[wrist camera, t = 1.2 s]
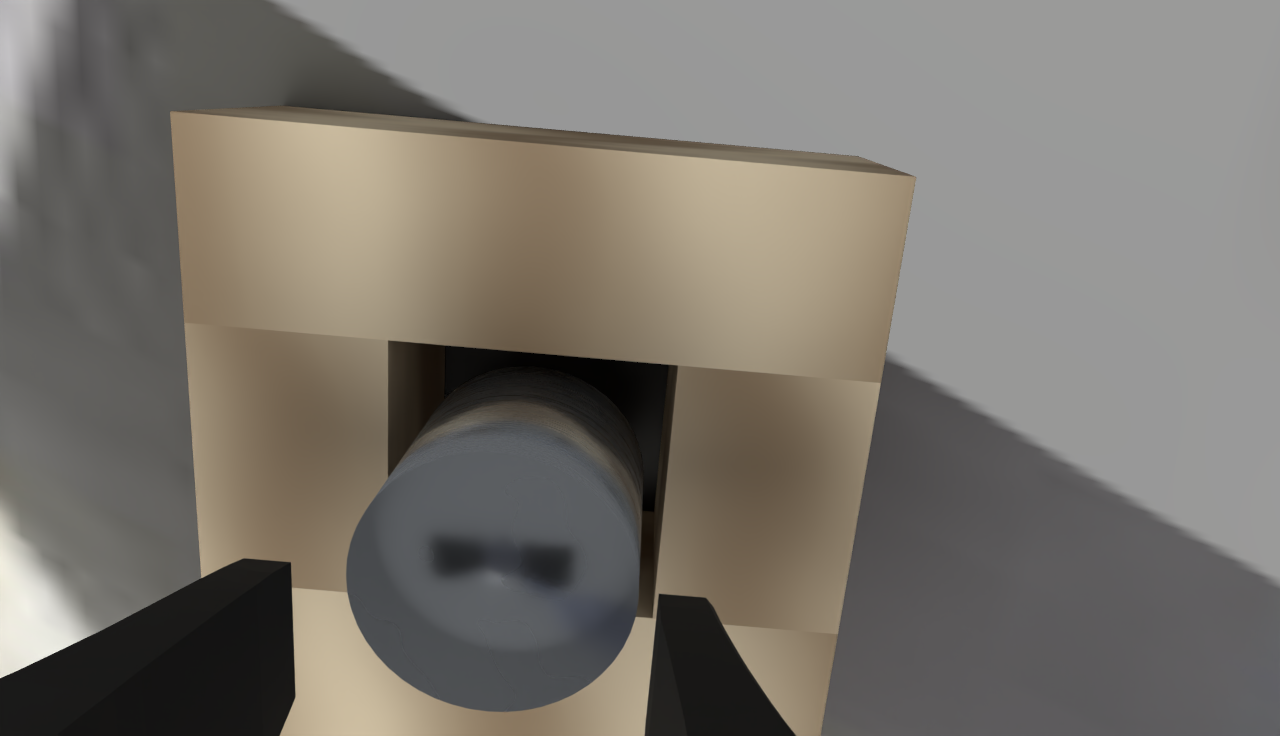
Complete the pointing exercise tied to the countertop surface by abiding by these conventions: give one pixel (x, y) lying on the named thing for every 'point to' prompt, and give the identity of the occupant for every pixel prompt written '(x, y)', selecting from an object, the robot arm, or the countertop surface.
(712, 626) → the robot arm
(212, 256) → the socket block
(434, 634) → the peg
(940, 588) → the countertop surface
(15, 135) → the countertop surface
